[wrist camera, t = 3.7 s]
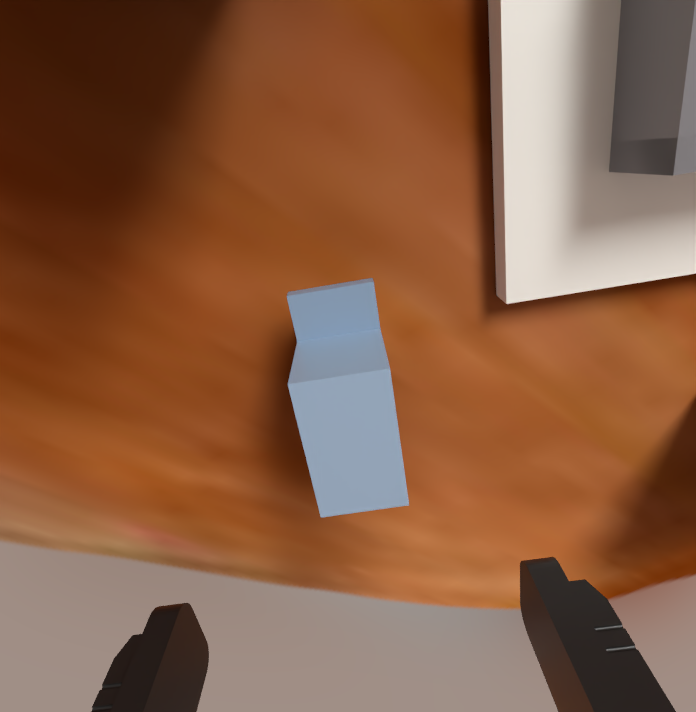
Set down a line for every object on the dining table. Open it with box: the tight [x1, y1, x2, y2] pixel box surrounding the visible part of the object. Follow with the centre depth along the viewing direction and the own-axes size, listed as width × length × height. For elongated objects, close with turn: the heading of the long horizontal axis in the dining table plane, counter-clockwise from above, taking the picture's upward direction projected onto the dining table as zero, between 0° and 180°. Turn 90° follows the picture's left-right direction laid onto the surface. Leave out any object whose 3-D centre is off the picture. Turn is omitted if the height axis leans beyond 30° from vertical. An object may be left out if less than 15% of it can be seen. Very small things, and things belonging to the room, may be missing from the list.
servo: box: [287, 278, 409, 517], centre depth 20 cm, size 10×4×8 cm, turn 9°
